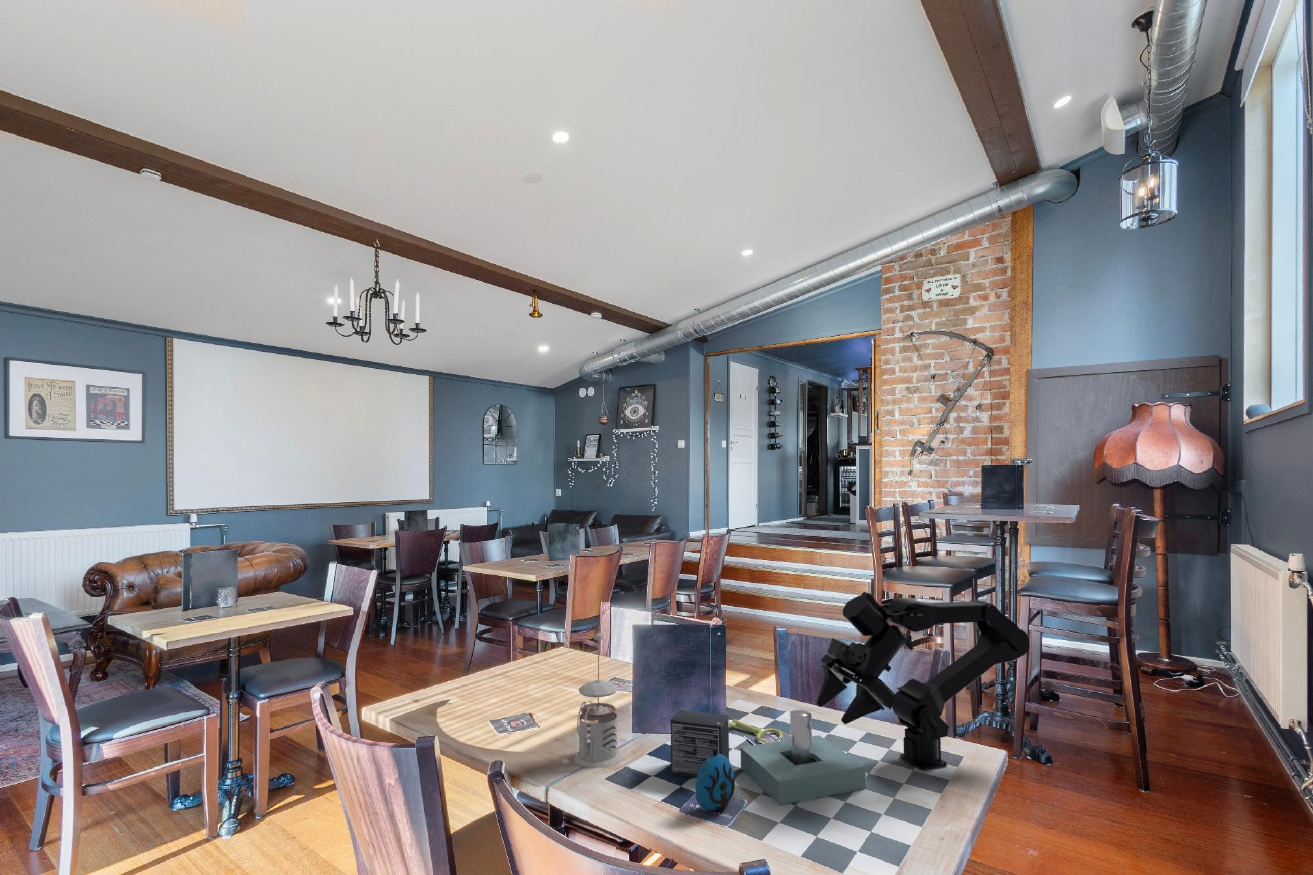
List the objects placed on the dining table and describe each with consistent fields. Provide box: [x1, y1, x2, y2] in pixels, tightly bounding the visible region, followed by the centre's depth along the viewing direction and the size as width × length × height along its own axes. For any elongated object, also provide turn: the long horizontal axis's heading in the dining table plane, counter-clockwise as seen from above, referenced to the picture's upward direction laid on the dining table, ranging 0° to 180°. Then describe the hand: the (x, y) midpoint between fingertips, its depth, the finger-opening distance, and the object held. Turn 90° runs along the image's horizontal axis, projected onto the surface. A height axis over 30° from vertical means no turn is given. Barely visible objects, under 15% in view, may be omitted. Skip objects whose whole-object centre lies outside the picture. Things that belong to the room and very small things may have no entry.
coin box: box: [740, 734, 867, 806], centre depth 122 cm, size 18×15×4 cm
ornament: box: [694, 749, 736, 811], centre depth 111 cm, size 8×5×10 cm, turn 126°
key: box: [729, 718, 784, 742], centre depth 142 cm, size 7×12×2 cm, turn 66°
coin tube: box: [789, 709, 813, 766], centre depth 122 cm, size 4×4×12 cm
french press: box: [573, 632, 623, 769], centre depth 131 cm, size 10×12×25 cm
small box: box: [669, 709, 730, 779], centre depth 125 cm, size 11×6×10 cm, turn 71°
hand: (830, 713), depth 124 cm, fingers open, 9 cm apart
